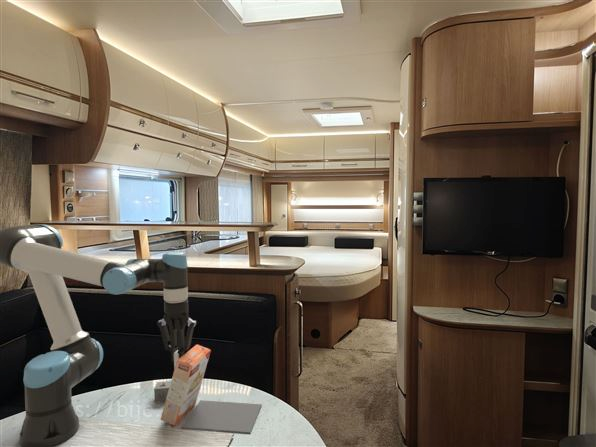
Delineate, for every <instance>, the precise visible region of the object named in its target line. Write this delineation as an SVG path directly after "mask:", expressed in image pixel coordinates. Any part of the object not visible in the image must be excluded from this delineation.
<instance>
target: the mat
mask: <svg viewBox="0 0 596 447" xmlns="http://www.w3.org/2000/svg"><path fill="white" fill-rule="evenodd" d="M262 404H263V403H261V404H260V403H245V402H232V401H231V402H229V401H215V400H203V399H201V400H199V402H198V403H197V404H195V407H194V408H193V409H192V411H191V413H190V414H189V416H188V417H187V418H186V419H185V421H184V423H182V425H181V426H180V429H184V430H185V429H186V430H199V431H201V430H202V431H214V432H222V433H223V432H225V433H239V434H251V433H252V431H253V427H254V426H255V423H256V420H257V418H258V415H259V413H260V410H261V409H262Z"/></svg>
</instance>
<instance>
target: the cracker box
mask: <svg viewBox="0 0 596 447" xmlns="http://www.w3.org/2000/svg"><path fill="white" fill-rule="evenodd" d="M211 353H212V350H211V349H210V348H208V347H204V346H203V345H200V344H195V345H194V346H193V347H192V348H191V349H188V350H187V352H186V353H184V355H183V356H182V357H181V358H179V359H178V360H177V362H176V366H175V369H174V368H173V369H174V370H173V374H172V378H171V380H170V381H171V384H170V387H169V391H168V394H167V398H166V401H165V402H164V406H163V408H162V413H161V417H160V421H162V422H165V423H167V424H169V425H171V426H174V427H177V425H178V424H179V423H180V422H181V421H182V419H184V417H185V416H186V415H187V414H188V413H189V411H190V410H191V409H192V408H193V407H194V406H196V405H197V404H196V403H197V400H198V396H199V393H200V390H201V386H202V383H203V379H204V376H205V374H206V373H205V372H206V369H207V365H208V362H209V359H210V355H211Z"/></svg>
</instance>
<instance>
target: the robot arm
mask: <svg viewBox="0 0 596 447" xmlns="http://www.w3.org/2000/svg"><path fill="white" fill-rule="evenodd" d="M63 245H64V242H63V237H62V235H61V233H60V232H59V231H58V230H57V229H56V228H55V227H52V226H50V225H48V224H39V223H34V224H28V225H18V226H6V227H4V228H3V227H2V228H0V265H1V266H5V267H9V268H12V269H17V270H21V271H22V272H24V273H26V274H28V276H29V278H30V282H31V285H32V287H33V290H34V292H35V295H36V297H37V301H38V304H39V306H40V308H41V311H42V315H43V317H44V319H45V323H46V325H47V327H48V330H49V333H50V336H51V339H52V341H53V343H52V344H51V347H50V351H49V352H46V353H45V354H44V353H43V354H39V355H37V356H36V357H34V358H32V359H31V360H30V361H29V362H27V363H26V365H25V367H24V369H23V379H22V381H23V387H24V403H25V404H24V405H25V406H24V407H25V416H24V420H23V423H22V425H21V430H20V433H19V437H18V438H19V445H20V446H21V447H54V446H57V445H59V444H62V443H64V442H66V441H67V440H69V439H71V438H72V437H73V436H74V435H75V434H76V433H78V431H79V428H80V419H79V416H78V415H77V414H76V411H75V408H74V406H73V403H72V401H73V400H72V388H74V387H75V386H76V385H78V384H80V382H82V381H83V380H85V379H86V378H87V377H89V376H91V375H92V374H94V372H95V371H96V370H98V368H99V367H100V366H101V364H102V362H103V359H104V349H103V347H102V344H101V343H100V342H99V341H98V340H96V339H95V338H92V337H91V336H90V333H89V332H87V331H84V330H83V329H82V326H81V323H80V321H79V318H78V315H77V313H76V312H77V311H76V310H75V308H74V305H73V301H72V299H71V296H70V293H69V291H68V288H67V286H66V282H65V280H64V278H67V279H72V280H75V281H80V282H84V283H88V284H92V285H96V286H100V287H104V289H105V290H106V291H107V292H108V293H109V294H111V295H122V294H126V293H127V292H131V291H132V290H133V289H136V288H137V287H141V286H142V285H144V284H146V283H163V284H162V285H163V300H164V302H163V312H164V315H163V318H162V319H161V318H160V320H157V322H156V325H157V326H158V328H159V331H160V335H161V339H162V342H163V345H164V349H165V351H169V352H170V354H171V355H170V356H171V357H170V358H171V362H173V369H175V366H176V362H177V360H178V359H179V358H181V357H182V356H183V355H184V354H185V352H186V351H187V352H188V351H189V350H190V348H191V343H192V339H193V334H194V329H195V327H196V325H197V323H198V321H197V320H193V319H192V318H191V316H190V314H189V300H188V298H189V287H188V285H189V284H188V267H189V265H188V260H187V259H188V258H187V254H186V253H185V252H182V251H169V252H165V253H163V254H162V258H140V257H139V258H131V259H128V260H127V261H126V262H125V263H124V264H123V263H120V262H115V261H111V260H107V259H104V258H103V259H102V258H99V257H95V256H90V255H87V254H82V253H80V252H79V253H78V252H75V251H70V250H67V249H63V248H62V247H63ZM186 325H187V326H188V328H187V331H186V336H185V328H186Z"/></svg>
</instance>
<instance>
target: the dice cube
mask: <svg viewBox="0 0 596 447" xmlns="http://www.w3.org/2000/svg"><path fill="white" fill-rule="evenodd" d="M170 384H171V380H169V381H157V382H156V384H155V386H154V389H153V391H154V392H153V394H154V403H165V401H166V398H167V394H168V391H169V387H170Z"/></svg>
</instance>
